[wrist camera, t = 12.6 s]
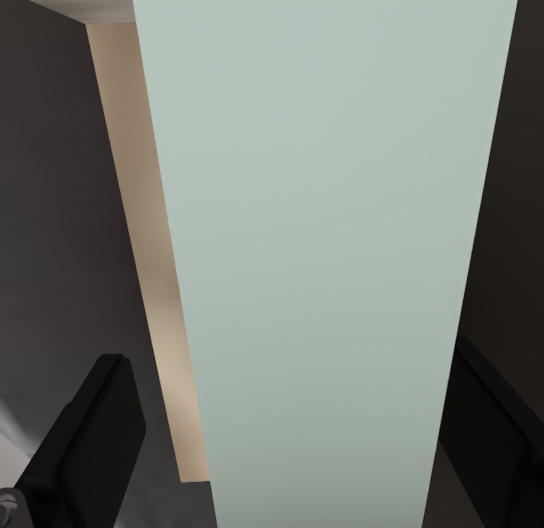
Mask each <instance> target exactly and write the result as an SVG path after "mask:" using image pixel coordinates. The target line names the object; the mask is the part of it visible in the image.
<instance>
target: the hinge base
mask: <svg viewBox="0 0 544 528" xmlns="http://www.w3.org/2000/svg"><path fill="white" fill-rule="evenodd" d="M30 1H33V2H35V3H37V4H40V5H42V6H44V7H47V8H49V9H51V10H54V11H56V12H58V13H61V14H63V15H65V16H68V17H70V18H72V19H75V20H77V21H79V22H82V23H84V24H86V28H87V33H88V38H89V43H90V47H91V52H92V57H93V62H94V67H95V71H96V76H97V81H98V86H99V91H100V95H101V100H102V105H103V110H104V115H105V119H106V124H107V129H108V134H109V138H110V143H111V148H112V153H113V158H114V162H115V167H116V172H117V177H118V182H119V186H120V191H121V196H122V201H123V206H124V210H125V215H126V220H127V225H128V230H129V234H130V239H131V244H132V249H133V253H134V258H135V263H136V268H137V273H138V277H139V282H140V287H141V292H142V297H143V301H144V306H145V311H146V316H147V321H148V325H149V330H150V335H151V340H152V345H153V349H154V354H155V359H156V364H157V368H158V373H159V378H160V383H161V388H162V392H163V397H164V402H165V407H166V412H167V416H168V421H169V426H170V431H171V436H172V440H173V445H174V450H175V455H176V460H177V464H178V469H179V474H180V479H181V482H197V481H210V476H209V469H208V463H207V457H206V451H205V445H204V439H203V432H202V426H201V420H200V414H199V408H198V401H197V395H196V389H195V383H194V377H193V371H192V364H191V358H190V352H189V346H188V340H187V333H186V327H185V321H184V315H183V309H182V303H181V296H180V290H179V284H178V278H177V272H176V265H175V259H174V253H173V247H172V241H171V234H170V228H169V222H168V216H167V210H166V204H165V197H164V191H163V185H162V179H161V173H160V166H159V160H158V154H157V148H156V142H155V136H154V129H153V123H152V117H151V111H150V105H149V98H148V92H147V86H146V80H145V74H144V68H143V61H142V55H141V49H140V43H139V37H138V30H137V24H136V18H135V12H134V6H133V0H30Z"/></svg>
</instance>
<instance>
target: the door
mask: <svg viewBox="0 0 544 528" xmlns="http://www.w3.org/2000/svg"><path fill="white" fill-rule="evenodd" d="M516 5H517V0H133V6H134V12H135V18H136V24H137V30H138V37H139V43H140V49H141V55H142V61H143V68H144V74H145V80H146V86H147V92H148V98H149V105H150V111H151V117H152V123H153V129H154V136H155V142H156V148H157V154H158V160H159V166H160V173H161V179H162V185H163V191H164V197H165V204H166V210H167V216H168V222H169V228H170V234H171V241H172V247H173V253H174V259H175V265H176V272H177V278H178V284H179V290H180V296H181V303H182V309H183V315H184V321H185V327H186V333H187V340H188V346H189V352H190V358H191V364H192V371H193V377H194V383H195V389H196V395H197V401H198V408H199V414H200V420H201V426H202V432H203V439H204V445H205V451H206V457H207V463H208V469H209V476H210V482H211V488H212V494H213V500H214V507H215V513H216V519H217V525H218V528H421V527H422V522H423V516H424V511H425V505H426V500H427V494H428V489H429V483H430V478H431V472H432V467H433V461H434V456H435V450H436V445H437V439H438V434H439V428H440V423H441V417H442V412H443V406H444V401H445V395H446V390H447V384H448V379H449V373H450V368H451V362H452V357H453V351H454V346H455V340H456V335H457V329H458V324H459V318H460V313H461V307H462V302H463V296H464V291H465V285H466V280H467V274H468V269H469V263H470V258H471V252H472V247H473V241H474V236H475V230H476V225H477V219H478V214H479V208H480V203H481V197H482V192H483V186H484V181H485V175H486V170H487V164H488V159H489V153H490V148H491V142H492V137H493V131H494V126H495V120H496V115H497V109H498V104H499V98H500V93H501V87H502V82H503V76H504V71H505V65H506V60H507V54H508V49H509V43H510V38H511V32H512V27H513V21H514V16H515V10H516Z"/></svg>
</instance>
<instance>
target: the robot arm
mask: <svg viewBox="0 0 544 528" xmlns="http://www.w3.org/2000/svg"><path fill="white" fill-rule="evenodd" d="M145 431H146V425H145V420H144V416H143V412H142V408H141V404H140V400H139V396H138V391H137V387H136V383H135V379H134V375H133V371H132V367H131V363H130V360H129V358H124V356H123V355H122V354H103V355H101V356H100V357H99V358H98V360H97V361H96V363H95V365H94V366H93V368H92V369H91V371H90V373H89V374H88V376H87V377H86V379H85V381H84V382H83V384H82V385H81V387H80V388H79V390H78V392H77V393H76V395H75V396H74V398H73V400H72V401H71V402H70V403H68V404H67V405H66V406H65V407H64V409H63V410H62V412H61V414H60V415H59V417H58V418H57V420H56V421H55V423H54V425H53V426H52V428H51V429H50V431H49V432H48V434H47V436H46V437H45V439H44V440H43V442H42V443H41V445H40V446H39V448H38V450H37V451H36V453H35V454H34V456H33V457H32V459H31V461H30V462H29V464H28V465H27V467H26V469H25V470H24V472H23V473H22V475H21V476H20V478H19V480H18V481H17V483H16V484H15V486H14V487H13V488H1V489H0V528H113V527H114V524H115V521H116V518H117V515H118V512H119V509H120V507H121V504H122V501H123V498H124V495H125V492H126V489H127V486H128V483H129V480H130V478H131V475H132V472H133V469H134V466H135V463H136V460H137V457H138V454H139V451H140V448H141V446H142V443H143V440H144V437H145ZM438 439H439V441H440V443H441V445H442V447H443V448H444V450H445V452H446V454H447V456H448V458H449V460H450V462H451V464H452V466H453V467H454V469H455V471H456V473H457V475H458V477H459V479H460V481H461V483H462V485H463V487H464V488H465V490H466V492H467V494H468V496H469V498H470V500H471V502H472V504H473V506H474V507H475V509H476V511H477V513H478V515H479V517H480V519H481V521H482V523H483V525H484V527H485V528H544V424H543V423H542V421H541V420H540V419H539V418H538V417H537V416H536V414H535V413H534V412H533V411H532V410H531V409H530V408H529V406H528V405H527V404H526V403H525V402H524V401H523V400H522V398H521V397H520V396H519V395H518V394H517V393H516V392H515V390H514V389H513V388H512V387H511V386H510V385H509V384H508V383H507V382H506V381H505V380H504V378H503V377H502V376H501V375H500V374H499V373H498V372H497V370H496V369H495V368H494V367H493V366H492V365H491V364H490V362H489V361H488V360H487V359H486V358H485V357H484V356H483V354H482V353H481V352H480V351H479V350H478V349H477V348H476V346H475V345H474V344H473V343H472V342H471V341H470V339H469V338H468V337H467V336H465V335H456V340H455V346H454V351H453V357H452V362H451V368H450V373H449V379H448V384H447V390H446V395H445V401H444V406H443V412H442V417H441V423H440V428H439V434H438Z"/></svg>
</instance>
